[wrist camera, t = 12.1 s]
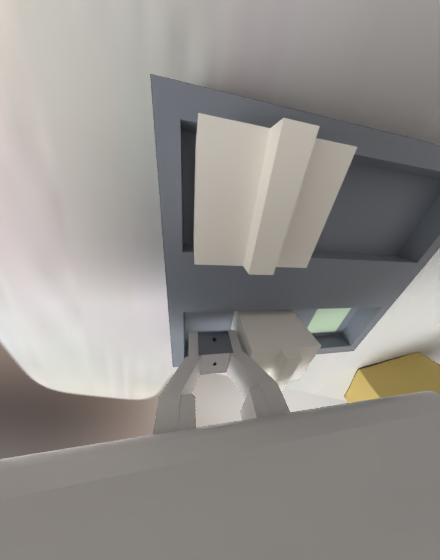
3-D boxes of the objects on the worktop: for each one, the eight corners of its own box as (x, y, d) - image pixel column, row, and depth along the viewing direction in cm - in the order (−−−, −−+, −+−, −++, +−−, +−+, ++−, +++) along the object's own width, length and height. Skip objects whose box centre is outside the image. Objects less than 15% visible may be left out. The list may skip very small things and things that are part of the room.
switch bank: (164, 113, 7) (150, 73, 4) (434, 168, 10) (510, 162, 7) (176, 336, 14) (172, 366, 11) (330, 328, 16) (353, 350, 14)
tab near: (195, 149, 6) (199, 97, 3) (285, 164, 7) (382, 140, 3) (193, 235, 8) (194, 273, 4) (266, 240, 9) (317, 276, 5)
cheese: (394, 381, 28) (482, 464, 20) (339, 397, 28) (403, 488, 19) (422, 347, 23) (560, 442, 14) (354, 367, 23) (452, 475, 14)
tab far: (235, 305, 11) (256, 362, 7) (287, 304, 11) (329, 355, 8) (228, 338, 12) (243, 398, 9) (274, 336, 13) (304, 390, 10)
